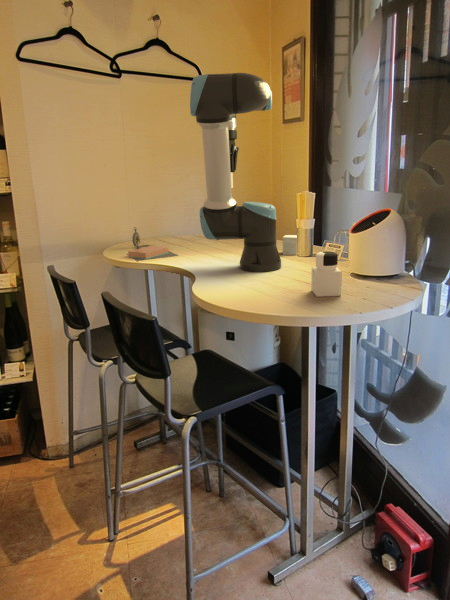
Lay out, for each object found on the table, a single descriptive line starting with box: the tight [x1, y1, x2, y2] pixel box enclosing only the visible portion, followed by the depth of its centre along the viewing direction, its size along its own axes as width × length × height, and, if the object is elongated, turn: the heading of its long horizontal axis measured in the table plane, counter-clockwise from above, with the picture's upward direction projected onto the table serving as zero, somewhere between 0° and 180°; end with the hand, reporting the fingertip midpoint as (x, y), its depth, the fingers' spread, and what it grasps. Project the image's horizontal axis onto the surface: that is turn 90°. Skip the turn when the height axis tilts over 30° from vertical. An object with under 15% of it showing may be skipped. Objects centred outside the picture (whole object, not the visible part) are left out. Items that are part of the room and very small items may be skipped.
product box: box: [282, 234, 298, 256], centre depth 192 cm, size 6×6×7 cm
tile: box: [127, 245, 170, 259], centre depth 199 cm, size 3×10×14 cm
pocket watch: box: [132, 226, 151, 249], centre depth 216 cm, size 8×8×10 cm
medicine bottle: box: [310, 250, 343, 298], centre depth 134 cm, size 7×7×12 cm
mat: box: [126, 250, 180, 263], centre depth 200 cm, size 18×18×1 cm
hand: (229, 187), depth 201 cm, fingers closed
